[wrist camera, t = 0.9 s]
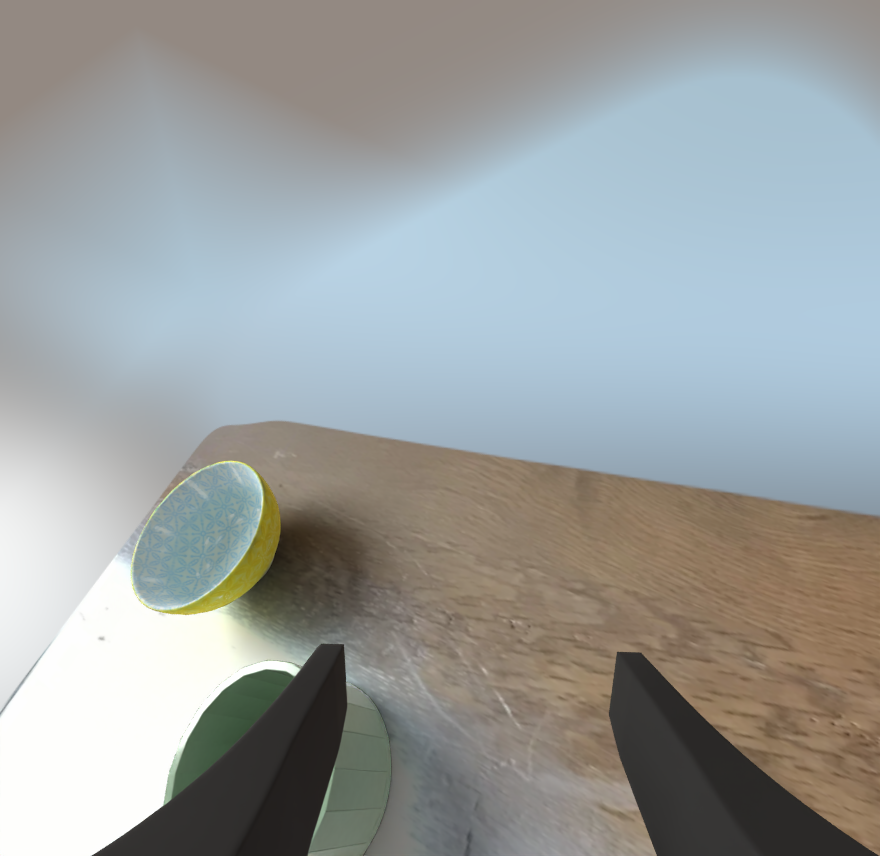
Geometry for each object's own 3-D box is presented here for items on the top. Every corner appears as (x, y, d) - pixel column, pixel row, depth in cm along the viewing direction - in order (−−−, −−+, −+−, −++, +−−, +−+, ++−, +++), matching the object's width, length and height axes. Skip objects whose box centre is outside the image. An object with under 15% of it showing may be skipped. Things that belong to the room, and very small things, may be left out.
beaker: (420, 724, 28) (370, 712, 23) (333, 941, 24) (252, 975, 19) (302, 653, 33) (242, 632, 29) (213, 820, 29) (129, 826, 25)
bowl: (327, 489, 41) (282, 451, 36) (290, 635, 34) (229, 611, 30) (223, 500, 45) (171, 467, 40) (173, 632, 38) (103, 611, 34)
